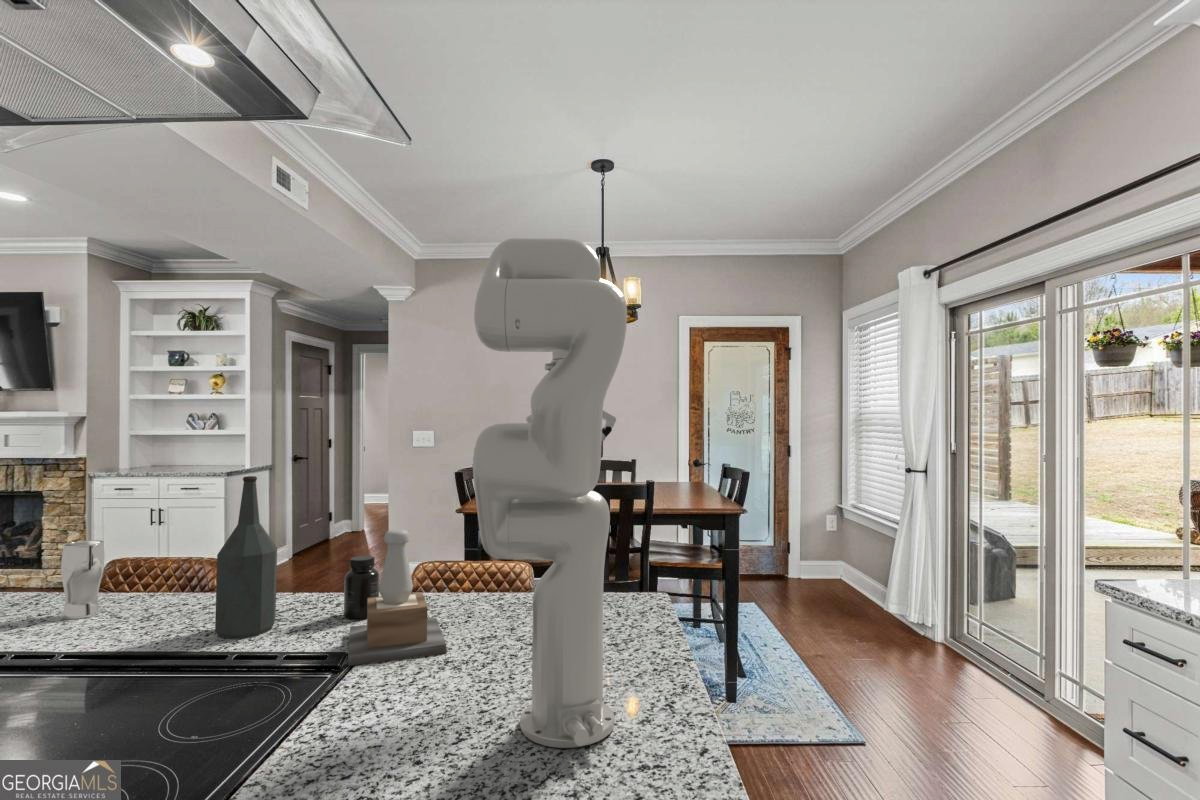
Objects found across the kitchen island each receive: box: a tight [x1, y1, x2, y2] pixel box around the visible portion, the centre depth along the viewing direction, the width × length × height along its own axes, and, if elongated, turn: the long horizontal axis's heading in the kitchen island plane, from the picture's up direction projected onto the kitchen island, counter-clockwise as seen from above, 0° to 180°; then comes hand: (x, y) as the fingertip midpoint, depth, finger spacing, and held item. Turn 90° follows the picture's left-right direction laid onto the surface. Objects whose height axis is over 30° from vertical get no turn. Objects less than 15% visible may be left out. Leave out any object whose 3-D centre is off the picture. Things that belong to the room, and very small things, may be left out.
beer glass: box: [60, 539, 105, 620], centre depth 128 cm, size 7×7×15 cm
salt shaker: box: [379, 528, 414, 605], centre depth 112 cm, size 6×6×13 cm
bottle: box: [214, 475, 278, 640], centre depth 119 cm, size 10×10×30 cm
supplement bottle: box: [343, 555, 380, 621], centre depth 128 cm, size 7×7×12 cm
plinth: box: [347, 592, 447, 667], centre depth 112 cm, size 16×16×8 cm
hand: (572, 462), depth 112 cm, fingers open, 9 cm apart
